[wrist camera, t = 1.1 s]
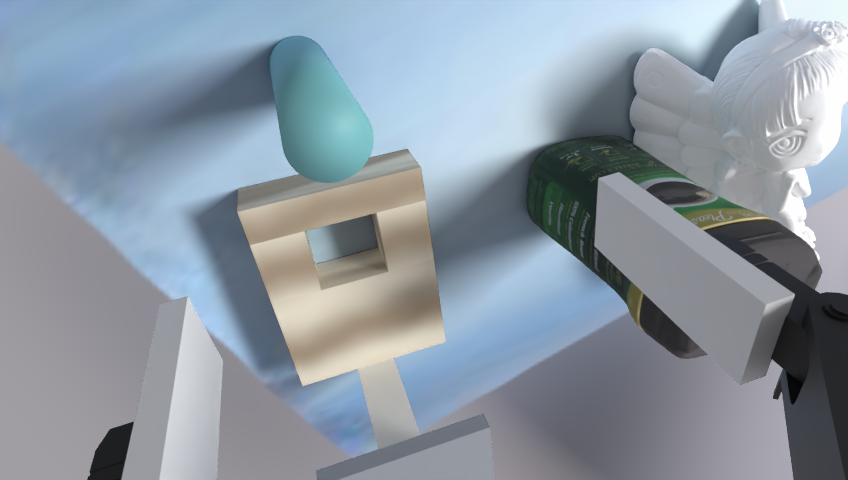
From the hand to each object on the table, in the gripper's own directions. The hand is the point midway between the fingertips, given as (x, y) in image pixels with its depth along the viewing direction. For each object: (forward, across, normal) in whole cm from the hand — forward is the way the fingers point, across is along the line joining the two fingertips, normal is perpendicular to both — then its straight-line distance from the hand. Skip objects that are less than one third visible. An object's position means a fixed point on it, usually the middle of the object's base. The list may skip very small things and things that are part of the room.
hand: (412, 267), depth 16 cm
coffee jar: (+21, +18, -12) cm, 30 cm away
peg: (+21, -1, +2) cm, 21 cm away
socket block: (+20, -2, -13) cm, 24 cm away
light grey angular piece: (+20, -2, -20) cm, 29 cm away
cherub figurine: (+21, +29, -11) cm, 38 cm away
